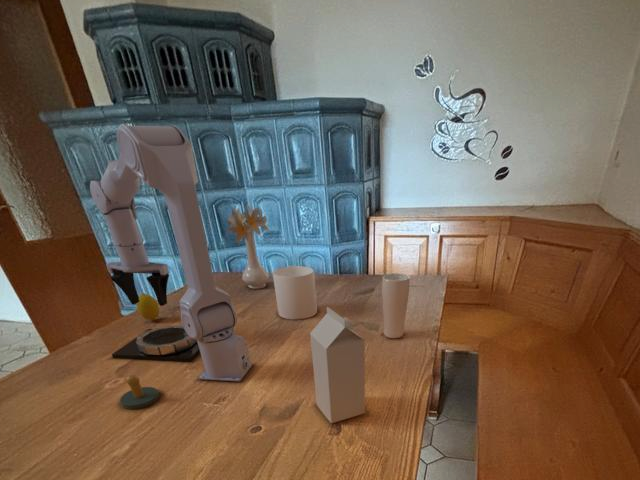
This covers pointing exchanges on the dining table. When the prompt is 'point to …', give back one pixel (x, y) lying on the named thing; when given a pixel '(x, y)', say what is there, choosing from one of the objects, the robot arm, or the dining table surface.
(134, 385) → the stand
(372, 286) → the dining table surface
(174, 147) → the robot arm
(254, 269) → the flower vase
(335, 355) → the milk carton
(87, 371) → the dining table surface
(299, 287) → the cup
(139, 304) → the lemon
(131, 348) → the hob plate
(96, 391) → the dining table surface
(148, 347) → the tan flat ring
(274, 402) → the dining table surface
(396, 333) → the drinking glass
